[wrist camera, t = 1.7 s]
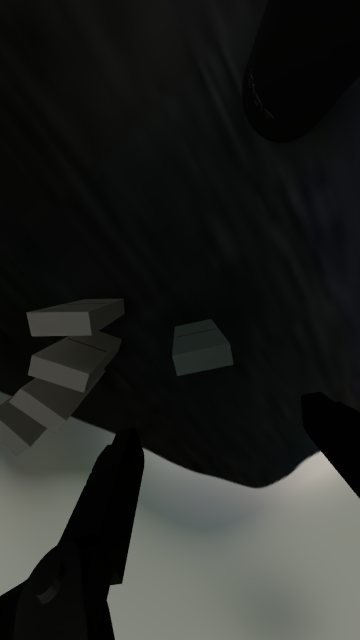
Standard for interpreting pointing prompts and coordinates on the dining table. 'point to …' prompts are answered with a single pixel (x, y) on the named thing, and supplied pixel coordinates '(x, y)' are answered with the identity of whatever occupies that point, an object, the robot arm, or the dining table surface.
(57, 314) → the domino
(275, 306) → the dining table surface
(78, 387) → the domino
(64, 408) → the domino
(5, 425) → the domino
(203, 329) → the domino
